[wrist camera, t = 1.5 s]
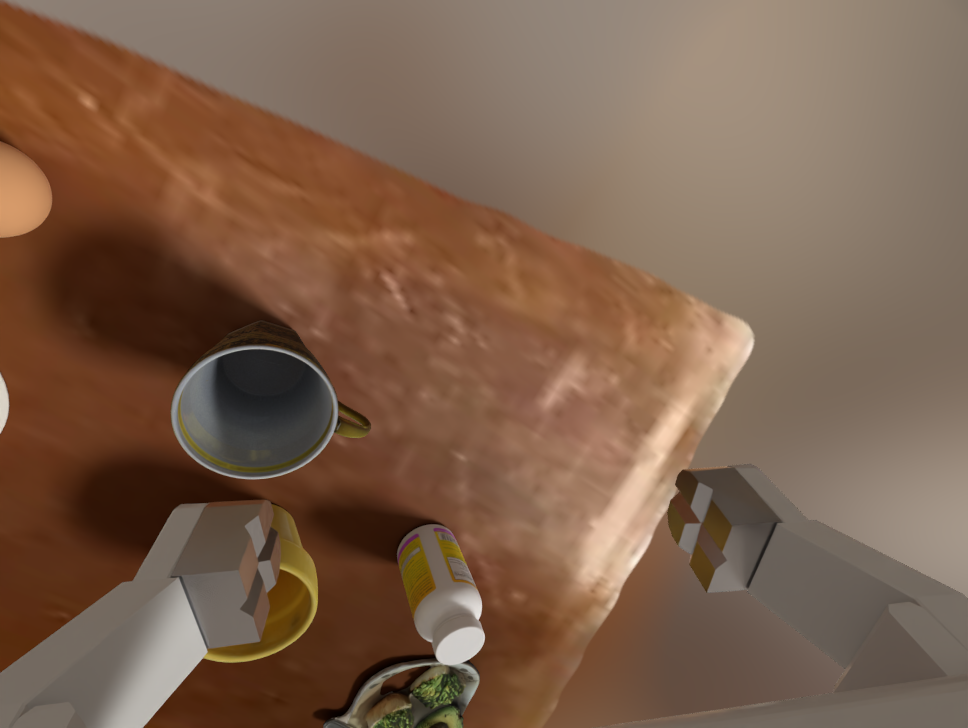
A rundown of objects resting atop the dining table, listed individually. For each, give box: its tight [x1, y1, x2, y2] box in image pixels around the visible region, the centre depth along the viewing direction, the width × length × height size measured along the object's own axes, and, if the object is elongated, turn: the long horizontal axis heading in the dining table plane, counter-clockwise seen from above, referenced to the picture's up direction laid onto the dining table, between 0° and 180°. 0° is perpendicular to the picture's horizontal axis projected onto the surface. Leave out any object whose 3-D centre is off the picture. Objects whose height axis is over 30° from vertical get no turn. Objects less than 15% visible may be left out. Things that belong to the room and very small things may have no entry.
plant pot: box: [203, 504, 318, 662], centre depth 42 cm, size 10×10×10 cm
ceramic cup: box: [171, 320, 371, 479], centre depth 37 cm, size 13×10×10 cm
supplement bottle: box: [397, 524, 485, 665], centre depth 49 cm, size 7×7×13 cm
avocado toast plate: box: [324, 658, 480, 728], centre depth 62 cm, size 19×18×5 cm
